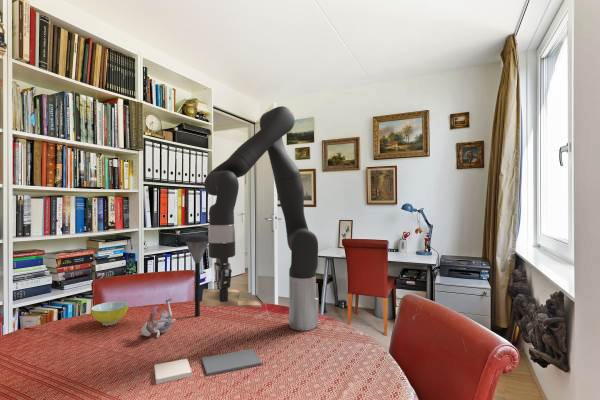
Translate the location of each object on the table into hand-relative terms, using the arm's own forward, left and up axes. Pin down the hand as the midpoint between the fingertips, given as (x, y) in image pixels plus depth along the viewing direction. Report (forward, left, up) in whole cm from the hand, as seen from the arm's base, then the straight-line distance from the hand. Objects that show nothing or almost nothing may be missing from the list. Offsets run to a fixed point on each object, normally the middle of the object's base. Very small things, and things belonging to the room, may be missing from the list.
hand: (222, 299), depth 97 cm
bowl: (+32, -37, -15) cm, 51 cm away
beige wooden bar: (-3, 0, -2) cm, 3 cm away
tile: (+10, +8, -14) cm, 19 cm away
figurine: (+17, -20, -15) cm, 30 cm away
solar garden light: (+3, -33, -15) cm, 36 cm away
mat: (-1, +9, -14) cm, 17 cm away
